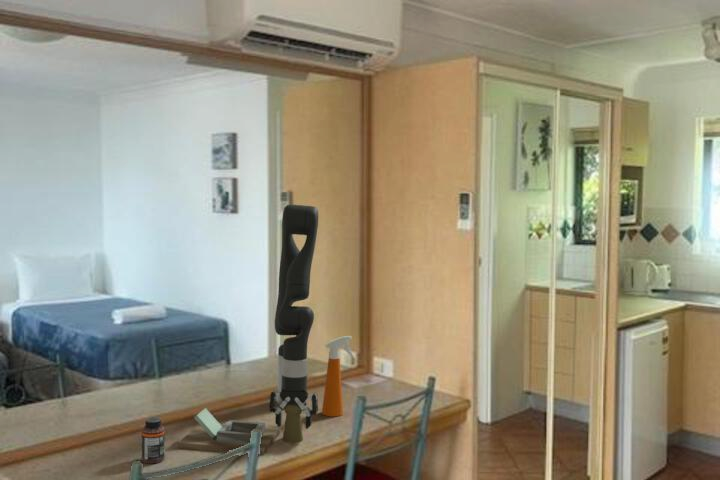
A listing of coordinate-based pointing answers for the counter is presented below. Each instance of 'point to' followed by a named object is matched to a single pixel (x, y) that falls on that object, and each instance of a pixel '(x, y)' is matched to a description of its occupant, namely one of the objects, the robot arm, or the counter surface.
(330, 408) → the spray bottle
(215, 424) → the latch flap
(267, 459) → the counter surface
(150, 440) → the supplement bottle
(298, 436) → the olive knobbed cylinder
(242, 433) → the holder board
